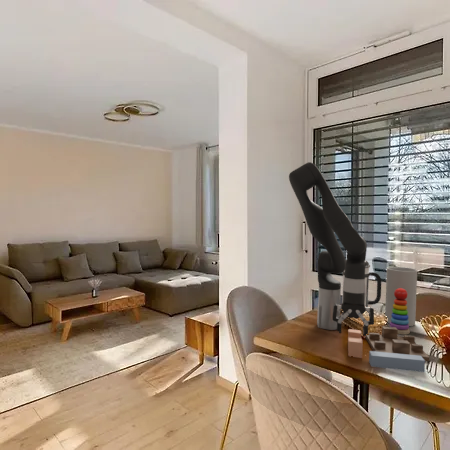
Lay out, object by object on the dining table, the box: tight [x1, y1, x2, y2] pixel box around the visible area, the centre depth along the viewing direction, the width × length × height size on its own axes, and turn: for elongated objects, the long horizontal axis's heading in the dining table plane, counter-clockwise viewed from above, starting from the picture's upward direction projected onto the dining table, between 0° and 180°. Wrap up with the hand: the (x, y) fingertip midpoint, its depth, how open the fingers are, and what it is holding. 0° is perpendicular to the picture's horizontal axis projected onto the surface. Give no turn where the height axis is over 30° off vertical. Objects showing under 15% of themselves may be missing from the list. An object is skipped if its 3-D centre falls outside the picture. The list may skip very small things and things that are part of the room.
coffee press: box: [340, 259, 382, 311], centre depth 178 cm, size 17×16×30 cm
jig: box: [365, 325, 430, 362], centre depth 133 cm, size 17×20×5 cm
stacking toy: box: [389, 288, 411, 336], centre depth 151 cm, size 8×8×19 cm
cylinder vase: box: [384, 266, 418, 327], centre depth 164 cm, size 12×12×25 cm
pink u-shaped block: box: [347, 328, 364, 359], centre depth 131 cm, size 14×4×6 cm, turn 161°
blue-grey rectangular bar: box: [368, 350, 426, 373], centre depth 117 cm, size 16×4×4 cm, turn 78°
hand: (352, 333), depth 131 cm, fingers open, 8 cm apart
